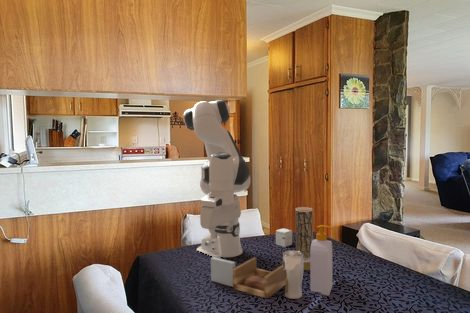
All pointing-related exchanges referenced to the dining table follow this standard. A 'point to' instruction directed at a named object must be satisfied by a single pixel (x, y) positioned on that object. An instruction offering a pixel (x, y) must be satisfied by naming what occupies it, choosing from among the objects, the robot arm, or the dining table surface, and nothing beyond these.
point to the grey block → (222, 271)
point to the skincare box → (284, 237)
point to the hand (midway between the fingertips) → (222, 235)
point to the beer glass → (293, 273)
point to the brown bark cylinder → (304, 233)
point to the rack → (271, 279)
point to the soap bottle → (321, 263)
